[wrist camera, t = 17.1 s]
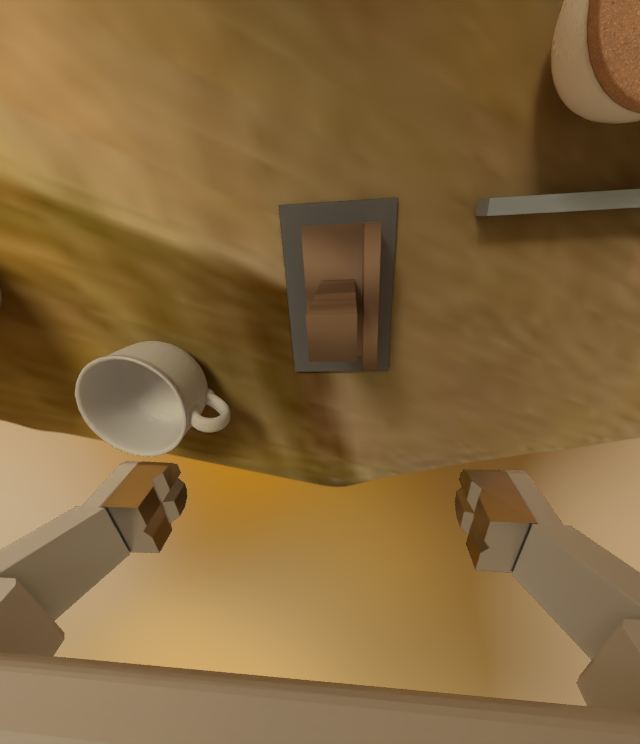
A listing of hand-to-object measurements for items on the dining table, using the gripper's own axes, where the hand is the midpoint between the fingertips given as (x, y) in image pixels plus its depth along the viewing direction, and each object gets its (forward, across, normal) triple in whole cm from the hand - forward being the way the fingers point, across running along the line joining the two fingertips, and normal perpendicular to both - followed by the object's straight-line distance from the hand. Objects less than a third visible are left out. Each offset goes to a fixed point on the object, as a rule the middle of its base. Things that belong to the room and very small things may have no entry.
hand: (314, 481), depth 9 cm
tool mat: (+23, 0, 0) cm, 23 cm away
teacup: (+24, +18, +9) cm, 31 cm away
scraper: (+23, 0, 0) cm, 23 cm away
